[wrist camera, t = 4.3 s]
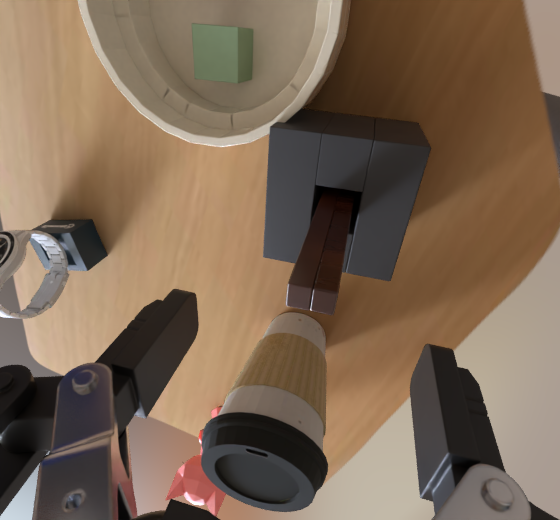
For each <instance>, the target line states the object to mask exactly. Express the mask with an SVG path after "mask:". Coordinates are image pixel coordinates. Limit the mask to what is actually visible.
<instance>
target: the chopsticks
mask: <svg viewBox="0 0 560 520" xmlns="http://www.w3.org/2000/svg"><path fill="white" fill-rule="evenodd" d="M354 195H355V191H352V190H346V189H339V188H332V187H326V186H325V188H324V191H323V193H322V196H321V198H320V201H319V204H318V206H317V209H316V211H315V214H314V217H313V219H312V222H311V224H310V227H309V230H308V232H307V235H306V237H305V240H304V243H303V245H302V248H301V250H300V253H299V256H298V258H297V261H296V263H295V266H294V269H293V271H292V274H291V276H290V279H289V282H288V287H287V297H286V306H290V307H294V308H299V309H304V310H309V309H310V310H311V311H314V312H319V313H324V314H328V315H333V314H334V312H335V307H336V302H337V297H338V292H339V286H340V280H341V274H342V268H343V262H344V256H345V250H346V244H347V238H348V232H349V226H350V219H351V213H352V207H353V201H354Z"/></svg>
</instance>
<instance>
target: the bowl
mask: <svg viewBox="0 0 560 520" xmlns="http://www.w3.org/2000/svg"><path fill="white" fill-rule="evenodd" d="M78 3H79V8H80V12H81V16H82V19H83V21H84V24H85V27H86V29H87V32H88V34H89V37H90V39H91V42H92V45H93V47H94V50H95V52H96V54H97V56H98V57H99V59H100V61H101V62H102V64H103V66H104V67H105V69H106V71H107V72H108V74H109V76H110V77H111V79H112V81H113V82H114V84H115V85H116V87H117V88H118V89H119V90H120V91H121V93H122V94H123V95H124V96H125V97H126V98H127V99H128V100H129V102H130V103H131V104H132V105H133V106H134V107H135V108H136V109H137V111H139V112H140V113H141V114H142V115H144V116H145V117H146V118H148V119H149V120H150V121H152V122H153V123H154V124H156V125H157V126H158V127H160V128H161V129H162V130H164V131H165V132H167V133H170V134H172V135H174V136H177V137H179V138H181V139H184V140H186V141H189V142H191V143H195V144H202V145H209V146H216V147H226V146H232V145H239V144H246V143H251V142H253V141H255V140H257V139H259V138H261V137H263V136H265V135H267V134H269V133H270V126H272V125H273V124H274V123H276V122H283V123H285V122H287V121H288V120H289V119H290V118H291V117H293V116H294V115H295V114H296V113H298V112H299V111H300V110H301V109H302V108H303V107H305V106H306V105H307V104H308V103H309V102H310V101H311V100H313V99H314V97H315V96H316V95H317V93H318V92H319V91H320V89H321V88H322V86H323V85H324V83H325V82H326V80H327V79H328V77H329V76H330V74H331V73H332V71H333V69H334V66H335V64H336V61H337V58H338V56H339V53H340V51H341V48H342V45H343V43H344V40H345V36H346V32H347V25H348V19H349V12H350V5H351V0H78ZM192 23H196V24H208V25H221V26H233V27H243V28H250V29H253V67H252V80H249V81H245V82H242V83H238V84H237V83H228V82H218V81H209V80H200V79H195V76H194V59H193V41H192Z"/></svg>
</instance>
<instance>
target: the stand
mask: <svg viewBox="0 0 560 520" xmlns="http://www.w3.org/2000/svg"><path fill="white" fill-rule="evenodd" d="M430 150H431V146H430V144H429V143H428V141H427V139H426V137H425V135H424V133H423V131H422V129H421V127H420V125H419V123H417V122H408V121H399V120H391V119H382V118H374V117H366V116H358V115H349V114H341V113H332V112H324V111H315V110H306V109H301V110H300V111H299V112H298V113H296V114H295V115H294V116H293V117H291V118H290V119H289V120H288V121H287V122H285V123H283V122H276V123H274V124H273V125H272V126H270V134H269V154H268V173H267V193H266V212H265V232H264V251H263V257H265V258H270V259H275V260H280V261H286V262H291V263H296V261H297V258H298V256H299V253H300V250H301V248H302V245H303V243H304V240H305V237H306V235H307V232H308V230H309V227H310V224H311V222H312V219H313V217H314V214H315V211H316V209H317V206H318V204H319V201H320V198H321V196H322V193H323V191H324V187H325V186H326V187H332V188H339V189H346V190H352V191H359V195H354V201H353V207H352V213H351V219H350V226H349V232H348V238H347V244H346V250H345V256H344V262H343V268H342V272H344V273H345V272H346V273H349V274H354V275H360V276H365V277H370V278H375V279H380V280H385V281H391V278H392V275H393V272H394V268H395V265H396V262H397V259H398V255H399V252H400V249H401V245H402V242H403V239H404V236H405V232H406V229H407V226H408V222H409V219H410V216H411V213H412V209H413V206H414V203H415V199H416V196H417V193H418V190H419V186H420V183H421V180H422V177H423V173H424V170H425V167H426V163H427V160H428V157H429V154H430Z"/></svg>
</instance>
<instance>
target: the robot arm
mask: <svg viewBox="0 0 560 520" xmlns="http://www.w3.org/2000/svg"><path fill="white" fill-rule="evenodd" d="M198 325H199V324H198V311H197V298H196V294H195V293H193V292H188V291H183V290H179V289H173V290H172V291H171V292H170V293H169V294H168V295H167V297H166V298H165V299H164V300H163V301H162V300H156V301H154V302H152V303H150V304H149V305H147V306H145V307H144V308H143V309H142V310H141V311H140V312H139V314H138V315H137V316H136V317H135V319H134V320H132V321H131V322H130V324H129V325H128V326H127V328H125V329H124V330H123V331H122V333H121V334H120V335H119V336H118V337H117V338H116V339H115V340H114V342H113V343H112V344H111V345H110V346H109V347H108V348H107V349H106V351H105V352H104V353H103V354H102V355H101V356H100V357H99V358H98V360H97V361H96V362H95V363H87V364H83V365H80V366H78V367H76V368H74V369H72V370H71V371H69V372H68V373H67V374H66V375H65V376H55V377H33V376H32V374H31V372H30V370H29V369H28V368H27V367H25V366H22V365H8V366H4V367H1V368H0V516H1V514H2V513H3V512H4V510H5V509H6V508H7V506H8V505H9V503H10V502H11V501H12V499H13V498H14V496H15V495H16V494H17V493H18V491H19V490H20V488H21V487H22V486H23V485H24V483H25V482H26V481H27V479H28V478H29V476H30V475H31V474H32V472H33V471H34V470H35V468H36V467H37V466H38V464H39V463H40V466H39V471H38V479H37V487H36V495H35V502H34V510H33V517H32V520H220V519H218V518H217V517H216V516H214V515H213V514H212V513H210V512H209V511H207V510H204V509H201V508H198V507H195V506H191V505H188V504H185V503H182V502H179V501H176V500H173V499H171V500H170V502H169V504H168V507H167V509H166V511H155V512H150V513H147V514H143V515H140V516H138V517H137V508H136V502H135V497H134V491H133V484H132V472H131V458H130V445H129V432H128V424H129V422H130V421H131V419H132V418H133V416H134V415H135V416H139V417H142V418H147V416H148V414H149V413H150V411H151V409H152V408H153V406H154V405H155V403H156V401H157V400H158V398H159V397H160V395H161V393H162V392H163V390H164V388H165V387H166V385H167V384H168V382H169V380H170V379H171V377H172V376H173V374H174V372H175V371H176V369H177V367H178V366H179V364H180V363H181V361H182V359H183V358H184V356H185V355H186V353H187V351H188V350H189V348H190V346H191V345H192V343H193V342H194V340H195V338H196V335H197V332H198ZM410 397H411V407H412V418H413V428H414V438H415V449H416V458H417V470H418V479H419V490H420V498H422V499H426V500H429V501H433V503H434V511H435V516H434V517H433V518H432V520H558V519H557V518H555V517H553V516H552V515H549V514H548V513H546V512H545V511H543V510H541V509H540V508H538V507H536V506H535V505H533V504H532V503H531V502H529V501H528V499H527V497H526V495H525V494H524V492H523V490H522V489H521V487H520V486H519V485H518V484H517V483H516V482H515V480H513V479H512V478H511V477H510V476H509V475H508V474H506V471H505V469H504V466H503V463H502V459H501V456H500V453H499V449H498V446H497V443H496V439H495V436H494V433H493V430H492V426H491V423H490V420H489V417H487V414H488V413H487V410H486V406H485V404H484V403H483V401H484V400H483V397H482V393H481V390H480V386H479V384H478V383H477V381H476V380H475V378H474V377H473V376H472V374H471V373H470V372H469V370H468V369H464V368H459V367H457V363H456V360H455V355H454V352H453V350H452V349H450V348H445V347H441V346H436V345H431V344H426V345H425V346H424V348H423V351H422V353H421V356H420V358H419V360H418V363H417V365H416V367H415V370H414V372H413V374H412V378H411V384H410ZM48 451H50V453H49V455H46V454H47V452H48ZM45 455H46V456H45Z"/></svg>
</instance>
